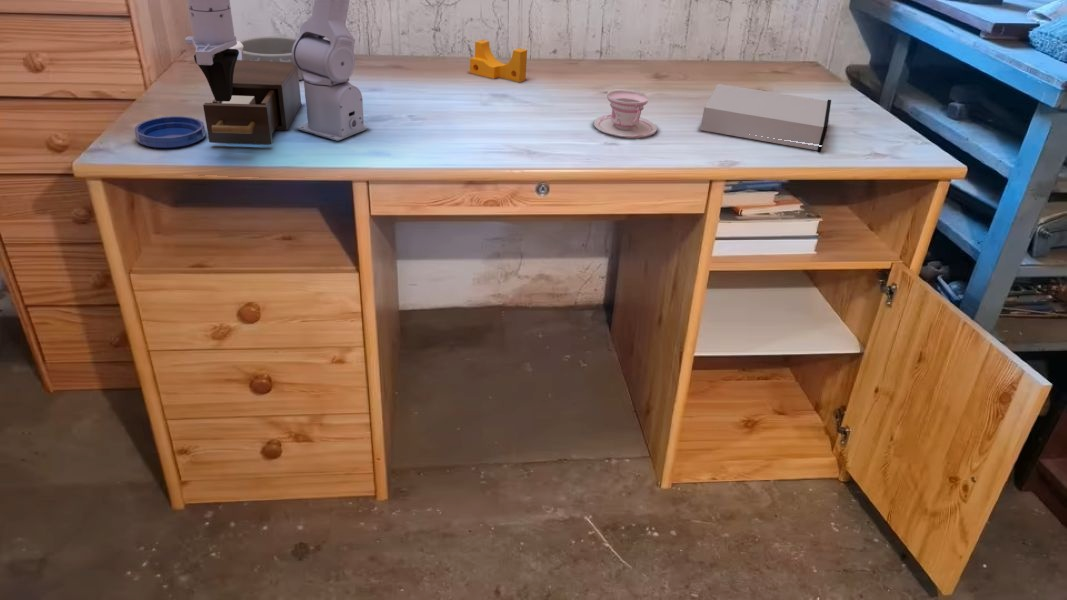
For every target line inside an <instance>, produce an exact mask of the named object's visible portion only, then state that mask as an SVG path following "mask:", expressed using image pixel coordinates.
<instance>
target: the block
mask: <svg viewBox="0 0 1067 600" xmlns="http://www.w3.org/2000/svg"><path fill="white" fill-rule="evenodd" d="M222 103H228V104H255V97H254V96H232V98H231V100H230V101H223V102H222Z"/></svg>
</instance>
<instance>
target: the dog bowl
mask: <svg viewBox="0 0 1067 600" xmlns="http://www.w3.org/2000/svg"><path fill="white" fill-rule="evenodd" d="M297 38H298V37H290V36H279V35H278V36H273V35H272V36H270V35H269V36H256V37H249V38H245V39H240V40H239V41H240V42H241V43H242V44H243V46H244V60H249V61H274V62H293V59H292V48H293V45H294V43H295V41H296V39H297ZM298 76H299V81H301V80H304V78H303V77H301V70H299V69H298Z"/></svg>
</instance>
